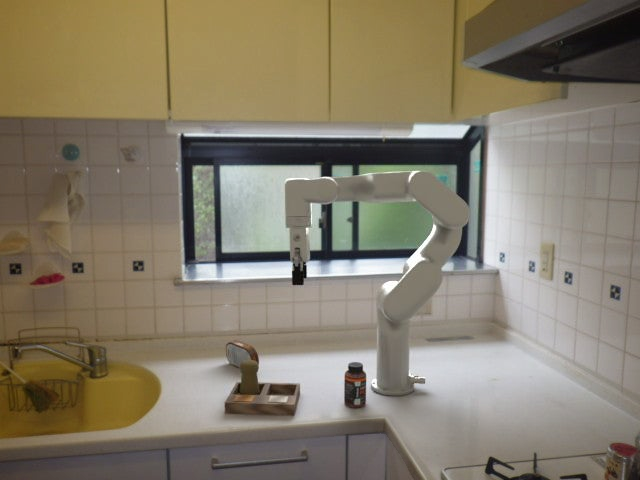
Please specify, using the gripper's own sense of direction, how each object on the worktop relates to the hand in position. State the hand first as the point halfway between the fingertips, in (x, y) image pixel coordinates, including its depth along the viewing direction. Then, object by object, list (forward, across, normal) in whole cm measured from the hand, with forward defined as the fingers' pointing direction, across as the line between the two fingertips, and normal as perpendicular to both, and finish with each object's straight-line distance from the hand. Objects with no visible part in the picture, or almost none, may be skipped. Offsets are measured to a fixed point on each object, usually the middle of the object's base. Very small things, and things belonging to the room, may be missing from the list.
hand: (299, 281), depth 149 cm
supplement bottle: (+32, -10, -16) cm, 37 cm away
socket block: (+32, -11, +9) cm, 35 cm away
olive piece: (+32, -9, +14) cm, 36 cm away
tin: (+32, +15, +21) cm, 41 cm away
